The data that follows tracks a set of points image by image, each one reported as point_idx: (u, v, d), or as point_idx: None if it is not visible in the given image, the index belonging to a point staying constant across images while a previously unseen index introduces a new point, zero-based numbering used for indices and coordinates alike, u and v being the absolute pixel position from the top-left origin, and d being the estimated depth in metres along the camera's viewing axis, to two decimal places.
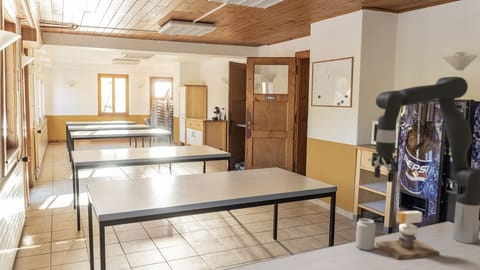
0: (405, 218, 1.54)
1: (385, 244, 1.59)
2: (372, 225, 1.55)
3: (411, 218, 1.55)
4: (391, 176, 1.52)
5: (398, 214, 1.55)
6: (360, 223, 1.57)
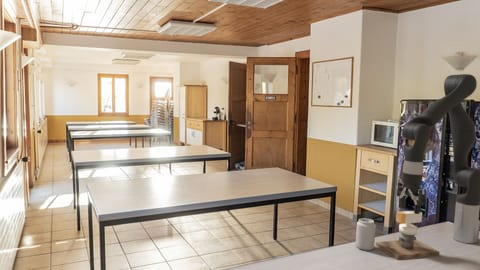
0: (405, 218, 1.54)
1: (385, 244, 1.59)
2: (372, 225, 1.55)
3: (411, 218, 1.55)
4: (418, 208, 1.51)
5: (398, 214, 1.55)
6: (360, 223, 1.57)
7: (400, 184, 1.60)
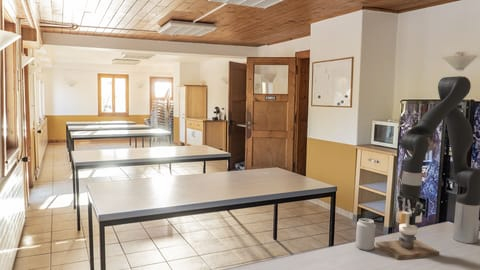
0: (405, 218, 1.54)
1: (385, 244, 1.59)
2: (372, 225, 1.55)
3: None
4: (413, 219, 1.54)
5: (398, 214, 1.55)
6: (360, 223, 1.57)
7: (399, 197, 1.61)
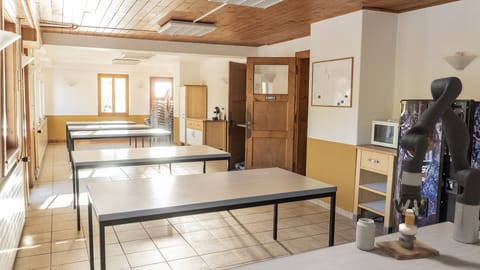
0: None
1: (385, 244, 1.59)
2: (372, 225, 1.55)
3: None
4: None
5: (409, 217, 1.52)
6: (360, 223, 1.57)
7: (397, 200, 1.56)
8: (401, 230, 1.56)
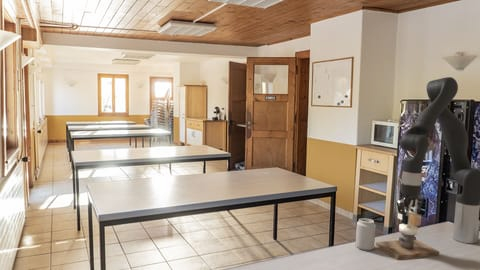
0: None
1: (385, 244, 1.59)
2: (372, 225, 1.55)
3: None
4: None
5: (417, 217, 1.51)
6: (360, 223, 1.57)
7: None
8: (406, 231, 1.54)
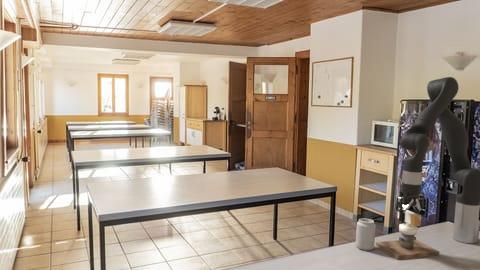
0: None
1: (385, 244, 1.59)
2: (372, 225, 1.55)
3: None
4: None
5: (417, 217, 1.51)
6: (360, 223, 1.57)
7: None
8: (406, 232, 1.54)
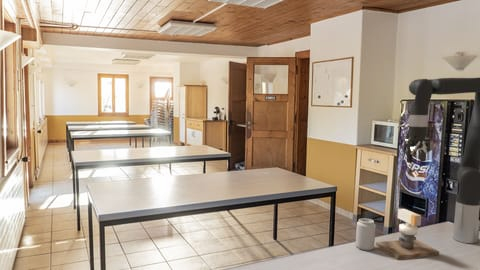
0: None
1: (385, 244, 1.59)
2: (372, 225, 1.55)
3: None
4: None
5: (417, 217, 1.51)
6: (360, 223, 1.57)
7: None
8: (406, 232, 1.54)
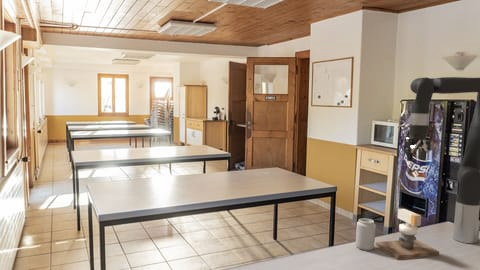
0: None
1: (385, 244, 1.59)
2: (372, 225, 1.55)
3: None
4: None
5: (417, 217, 1.51)
6: (360, 223, 1.57)
7: None
8: (406, 232, 1.54)
